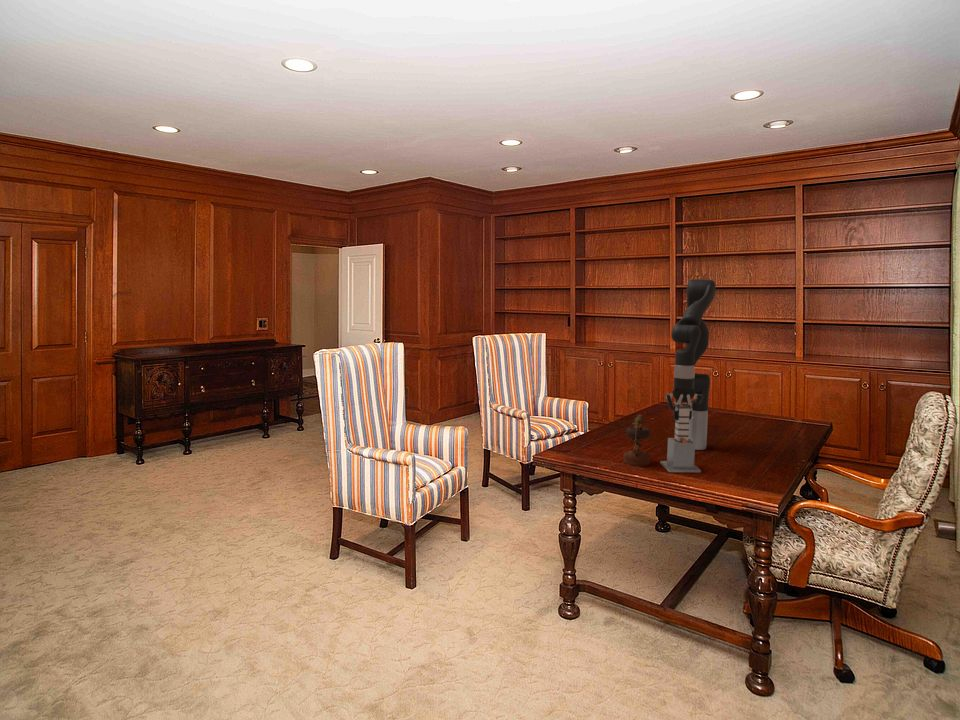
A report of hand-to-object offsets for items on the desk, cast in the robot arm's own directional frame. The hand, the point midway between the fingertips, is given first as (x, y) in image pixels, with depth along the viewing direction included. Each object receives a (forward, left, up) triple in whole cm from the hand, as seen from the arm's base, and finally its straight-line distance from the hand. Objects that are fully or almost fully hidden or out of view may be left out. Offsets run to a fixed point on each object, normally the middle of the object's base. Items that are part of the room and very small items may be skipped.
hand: (682, 419), depth 231 cm
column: (0, 0, -13) cm, 13 cm away
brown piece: (-8, -15, -19) cm, 26 cm away
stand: (0, 0, -19) cm, 19 cm away
